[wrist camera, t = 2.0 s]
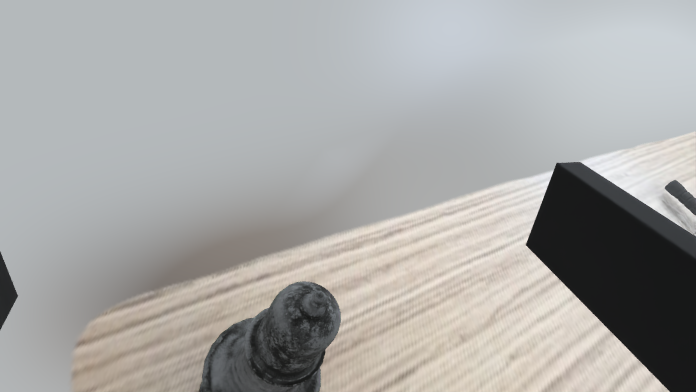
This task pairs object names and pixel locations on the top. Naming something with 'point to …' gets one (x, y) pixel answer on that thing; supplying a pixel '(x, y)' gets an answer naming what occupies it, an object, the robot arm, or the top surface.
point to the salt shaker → (276, 345)
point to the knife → (682, 195)
